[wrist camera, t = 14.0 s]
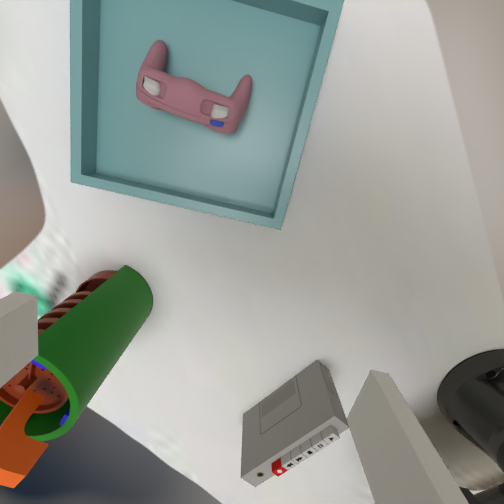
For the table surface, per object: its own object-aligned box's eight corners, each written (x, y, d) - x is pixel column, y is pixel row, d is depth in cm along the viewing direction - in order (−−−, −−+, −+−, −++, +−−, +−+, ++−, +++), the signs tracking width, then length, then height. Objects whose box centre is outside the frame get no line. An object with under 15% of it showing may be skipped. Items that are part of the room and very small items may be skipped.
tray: (332, 20, 25) (344, -1, 22) (277, 222, 32) (280, 229, 28) (95, -49, 23) (69, -83, 20) (90, 179, 30) (70, 182, 27)
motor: (101, 251, 33) (-96, 378, 14) (166, 286, 35) (63, 441, 16) (73, 310, 36) (-121, 478, 17) (134, 339, 38) (15, 522, 19)
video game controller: (155, 88, 28) (123, 111, 23) (157, 34, 24) (119, 47, 19) (245, 122, 29) (232, 150, 24) (258, 74, 25) (246, 96, 21)
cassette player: (255, 422, 43) (255, 496, 34) (243, 413, 43) (240, 486, 33) (328, 369, 40) (352, 436, 30) (317, 359, 39) (337, 424, 29)
